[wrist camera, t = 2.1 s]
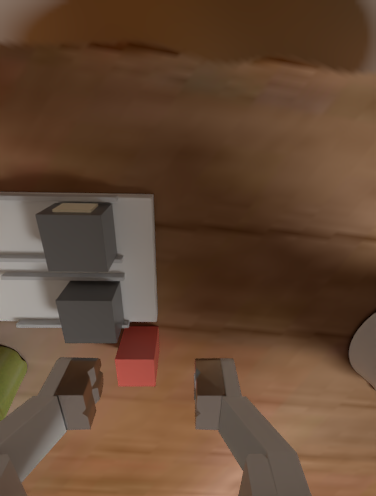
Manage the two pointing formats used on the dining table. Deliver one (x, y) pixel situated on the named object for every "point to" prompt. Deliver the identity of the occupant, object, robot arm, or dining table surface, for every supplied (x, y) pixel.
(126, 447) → the dining table surface
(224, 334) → the dining table surface
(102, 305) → the block
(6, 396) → the plant pot
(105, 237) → the block
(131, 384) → the red block
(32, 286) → the breaker panel
